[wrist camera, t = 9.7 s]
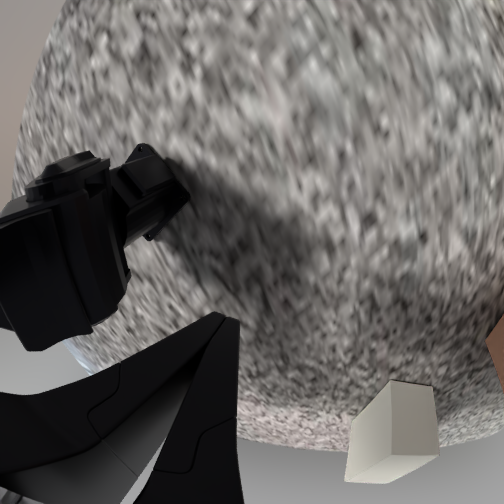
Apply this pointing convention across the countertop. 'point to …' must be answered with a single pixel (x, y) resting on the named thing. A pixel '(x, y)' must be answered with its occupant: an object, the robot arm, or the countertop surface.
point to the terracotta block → (497, 349)
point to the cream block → (393, 434)
